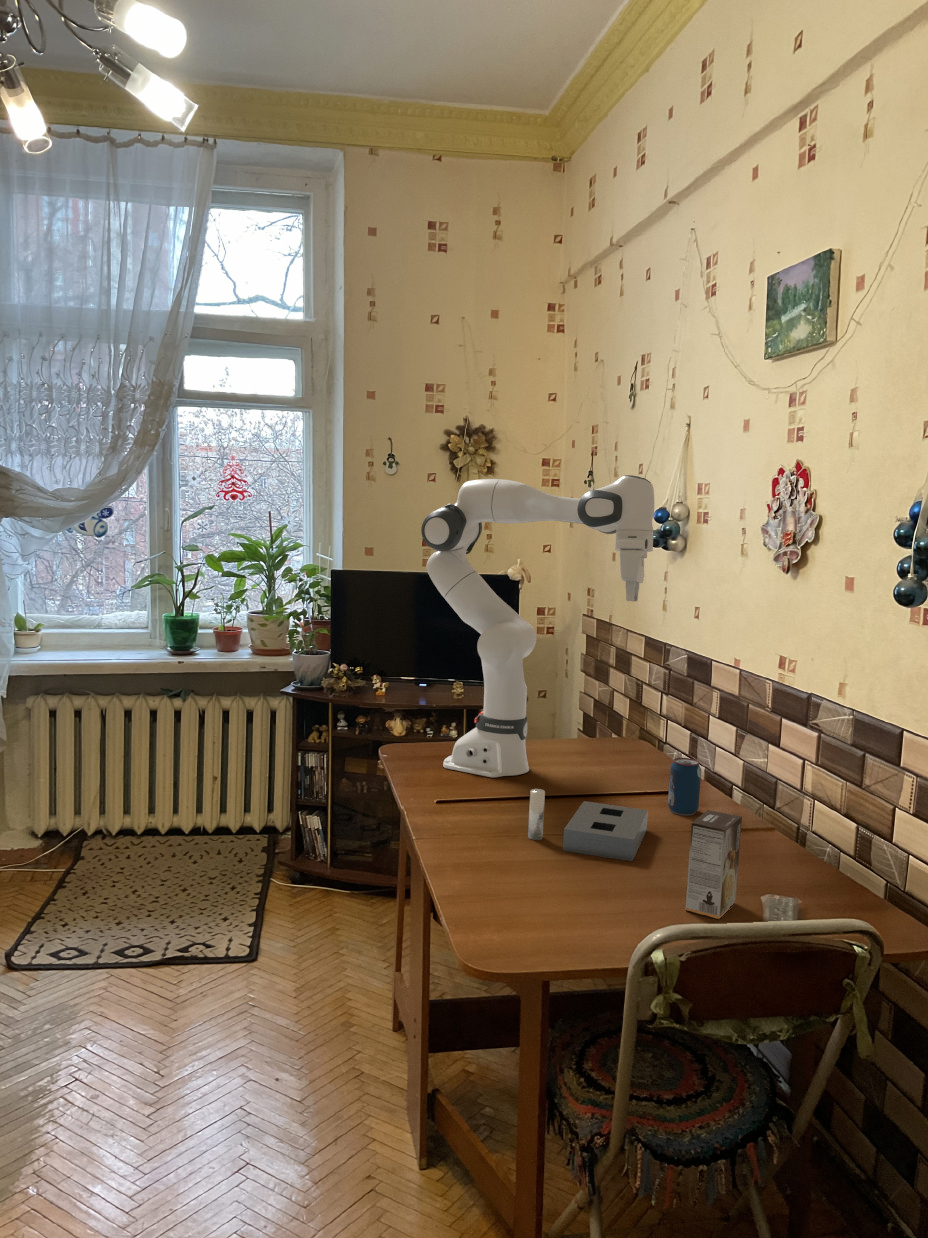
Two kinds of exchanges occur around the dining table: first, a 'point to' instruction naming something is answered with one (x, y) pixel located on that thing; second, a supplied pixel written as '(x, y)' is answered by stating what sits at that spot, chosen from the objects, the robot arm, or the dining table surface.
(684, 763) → the soda can
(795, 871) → the dining table surface
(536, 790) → the steel pin
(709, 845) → the coffee box
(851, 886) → the dining table surface
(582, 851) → the grey peg hole block
